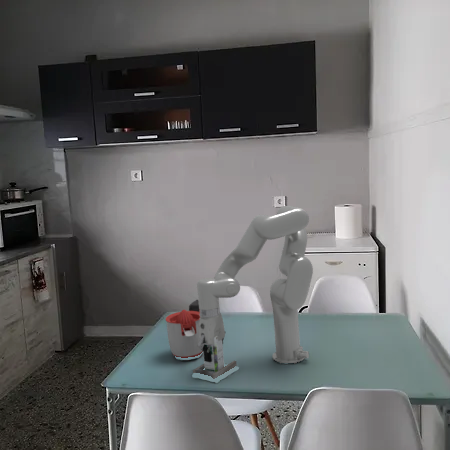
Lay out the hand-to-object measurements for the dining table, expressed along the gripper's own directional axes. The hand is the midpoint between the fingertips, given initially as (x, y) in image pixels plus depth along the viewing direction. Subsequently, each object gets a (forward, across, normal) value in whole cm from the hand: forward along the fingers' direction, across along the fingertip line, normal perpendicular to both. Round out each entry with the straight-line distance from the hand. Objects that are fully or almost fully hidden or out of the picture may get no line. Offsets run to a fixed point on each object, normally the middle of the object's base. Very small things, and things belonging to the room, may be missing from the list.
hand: (213, 357), depth 192 cm
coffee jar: (+6, +24, +26) cm, 36 cm away
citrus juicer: (+6, +8, +20) cm, 23 cm away
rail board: (+6, 0, 0) cm, 6 cm away
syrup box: (+5, 0, 0) cm, 5 cm away
